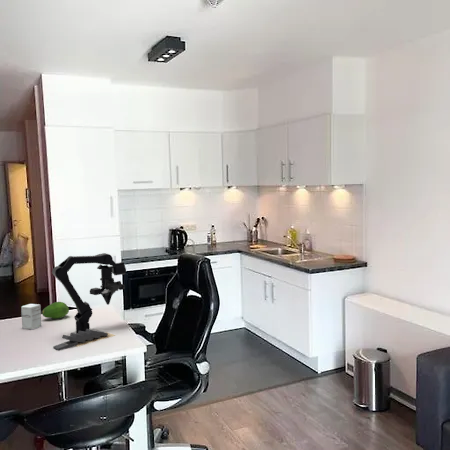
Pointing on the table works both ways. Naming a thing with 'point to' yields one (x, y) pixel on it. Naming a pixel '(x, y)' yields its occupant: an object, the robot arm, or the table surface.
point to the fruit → (55, 310)
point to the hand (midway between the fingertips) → (108, 304)
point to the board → (95, 339)
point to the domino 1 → (65, 345)
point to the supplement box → (31, 316)
